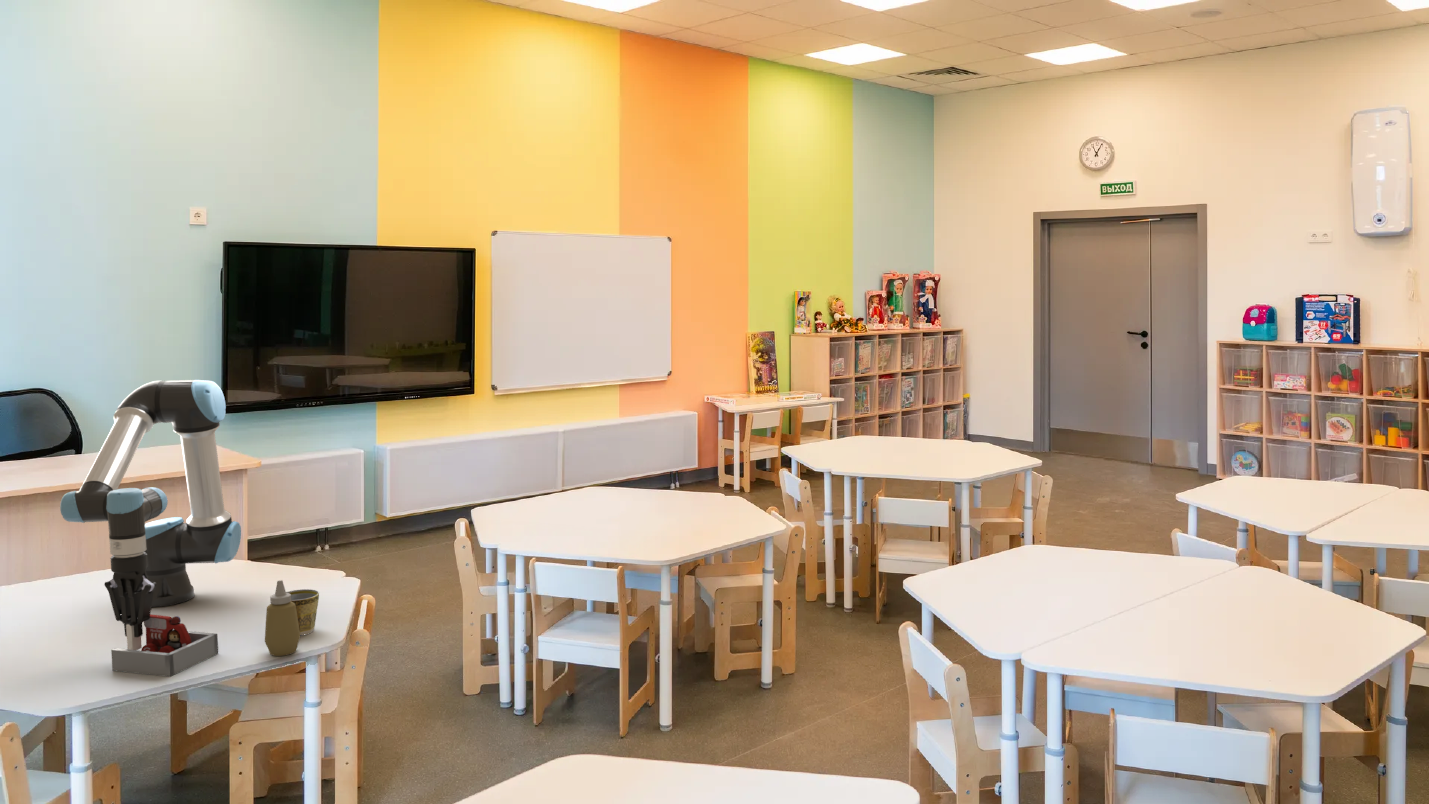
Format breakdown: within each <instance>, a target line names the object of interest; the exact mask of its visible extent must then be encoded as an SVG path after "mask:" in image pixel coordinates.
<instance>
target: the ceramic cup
mask: <svg viewBox="0 0 1429 804" xmlns="http://www.w3.org/2000/svg"><path fill="white" fill-rule="evenodd" d="M286 593H289V594H291V602H293V603H295V605H296V612H297V618H298V624H299V631H300V635H303V636H305V635H304V634H307V635H309V634H308V633H310V634H311V633H312V632H314V631H315V627H316V619H317V618H316V617H317V612H318V606H319V598H320V592H319V591H318V590H315V589H311V588H310V589H308V588H307V589H305V588H304V589H293V590H290V591H286ZM313 630H314V631H313Z"/></svg>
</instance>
